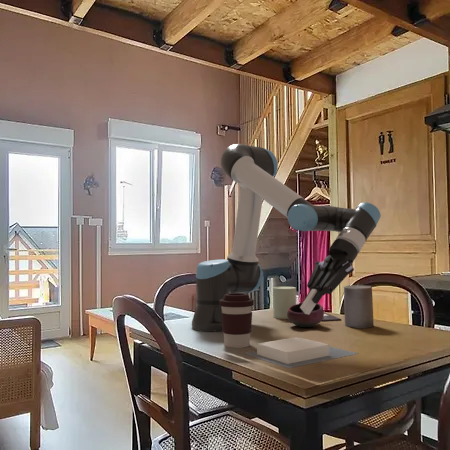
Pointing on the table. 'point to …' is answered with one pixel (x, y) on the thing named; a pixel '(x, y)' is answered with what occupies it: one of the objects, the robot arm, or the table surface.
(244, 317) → the coffee cup
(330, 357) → the mat
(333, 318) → the chocolate bar
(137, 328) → the table surface
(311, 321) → the bowl
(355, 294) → the pillar candle
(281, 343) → the tile
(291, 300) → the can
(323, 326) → the table surface
